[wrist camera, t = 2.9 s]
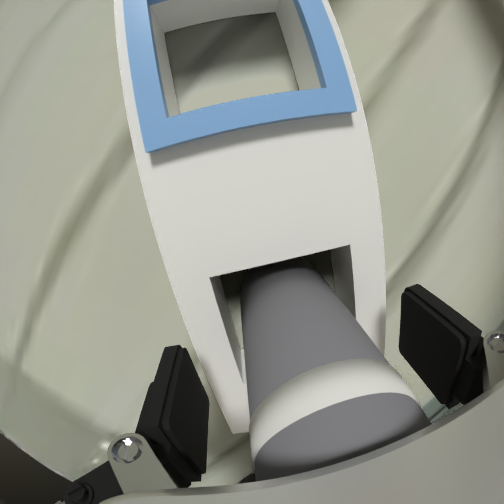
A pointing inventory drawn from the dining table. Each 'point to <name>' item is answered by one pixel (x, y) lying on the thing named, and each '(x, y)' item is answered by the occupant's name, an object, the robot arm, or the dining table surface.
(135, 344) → the dining table surface
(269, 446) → the gray ringed cylinder
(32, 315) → the dining table surface
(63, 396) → the dining table surface
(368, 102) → the dining table surface
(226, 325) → the white socket board
